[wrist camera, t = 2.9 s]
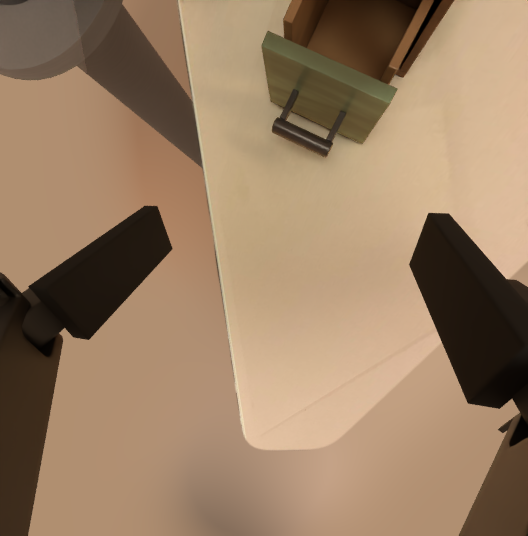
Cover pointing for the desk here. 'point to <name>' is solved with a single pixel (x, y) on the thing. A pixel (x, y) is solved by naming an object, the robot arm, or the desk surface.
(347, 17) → the drawer
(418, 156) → the desk surface
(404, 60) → the cabinet
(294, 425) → the desk surface
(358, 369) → the desk surface
